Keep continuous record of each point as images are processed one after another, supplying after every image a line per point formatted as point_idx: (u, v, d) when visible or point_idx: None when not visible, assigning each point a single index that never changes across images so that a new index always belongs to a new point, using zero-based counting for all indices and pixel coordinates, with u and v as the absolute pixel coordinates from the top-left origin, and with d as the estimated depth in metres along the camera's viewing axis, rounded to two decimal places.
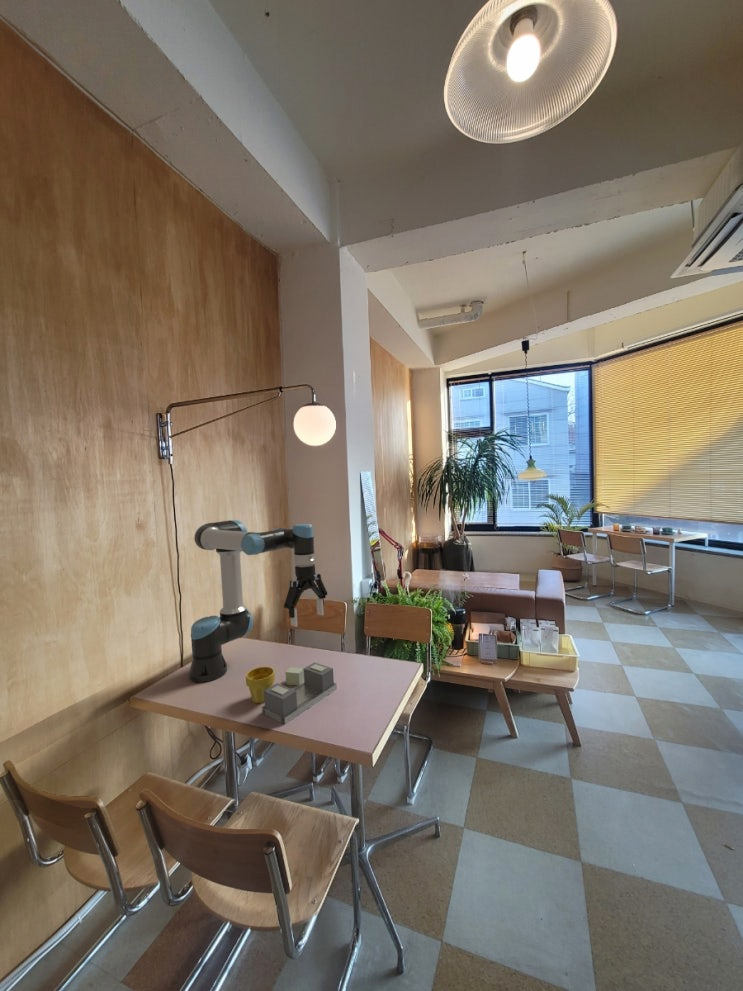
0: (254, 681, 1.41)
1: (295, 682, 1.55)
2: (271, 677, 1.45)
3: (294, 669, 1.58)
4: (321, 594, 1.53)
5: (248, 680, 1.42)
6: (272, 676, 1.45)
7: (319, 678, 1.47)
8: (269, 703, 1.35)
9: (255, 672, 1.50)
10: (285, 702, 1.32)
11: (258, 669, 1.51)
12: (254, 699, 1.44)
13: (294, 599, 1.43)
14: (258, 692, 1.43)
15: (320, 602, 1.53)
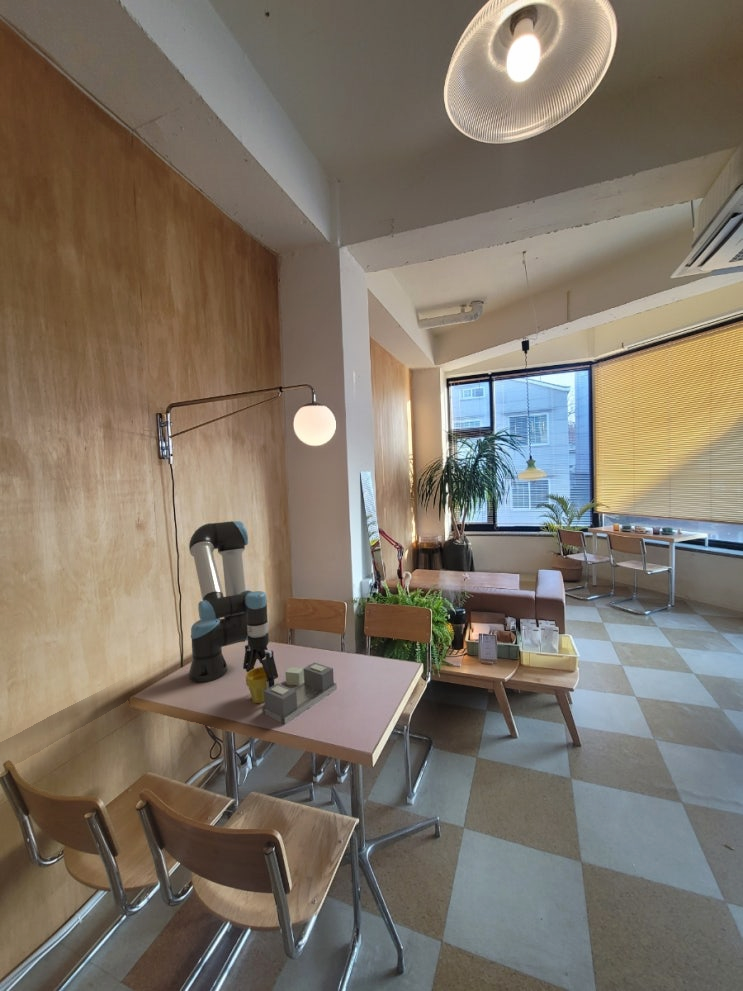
0: (254, 681, 1.41)
1: (295, 682, 1.55)
2: None
3: (294, 669, 1.58)
4: (267, 675, 1.42)
5: (248, 680, 1.42)
6: None
7: (319, 678, 1.47)
8: (269, 703, 1.35)
9: (255, 672, 1.50)
10: (285, 702, 1.32)
11: (258, 669, 1.51)
12: (254, 699, 1.44)
13: None
14: (258, 692, 1.43)
15: None
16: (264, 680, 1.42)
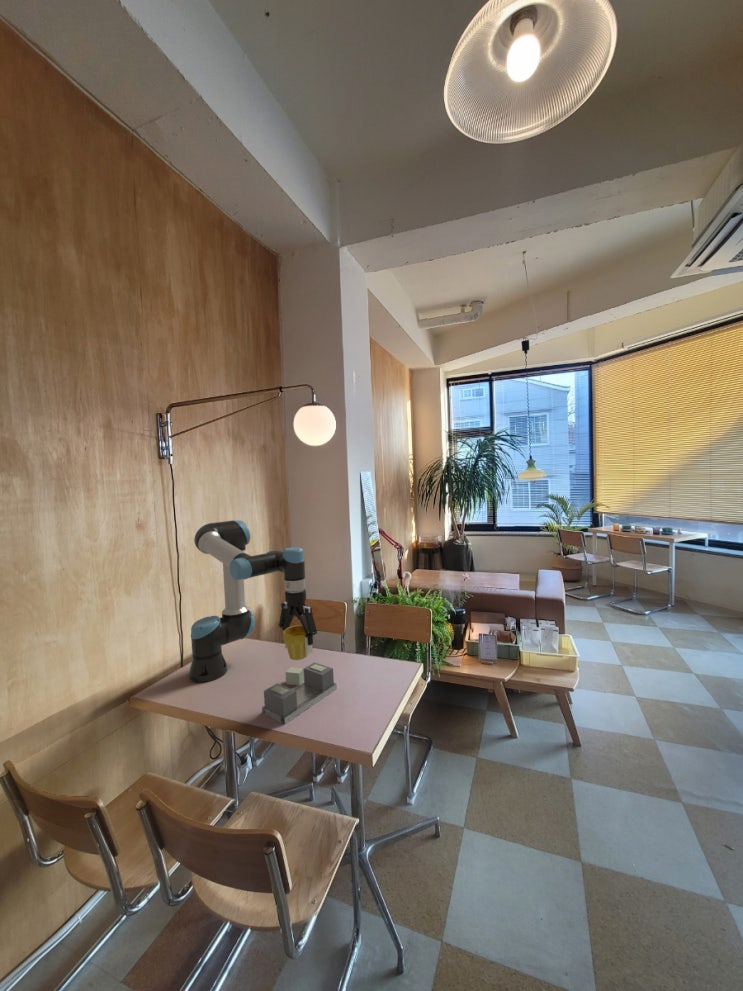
0: (292, 637, 1.38)
1: (295, 682, 1.55)
2: None
3: (294, 669, 1.58)
4: (305, 631, 1.39)
5: (286, 636, 1.39)
6: None
7: (319, 678, 1.47)
8: (269, 703, 1.35)
9: (291, 631, 1.47)
10: (285, 702, 1.32)
11: (294, 627, 1.47)
12: (292, 656, 1.40)
13: None
14: (296, 648, 1.39)
15: None
16: (302, 636, 1.39)
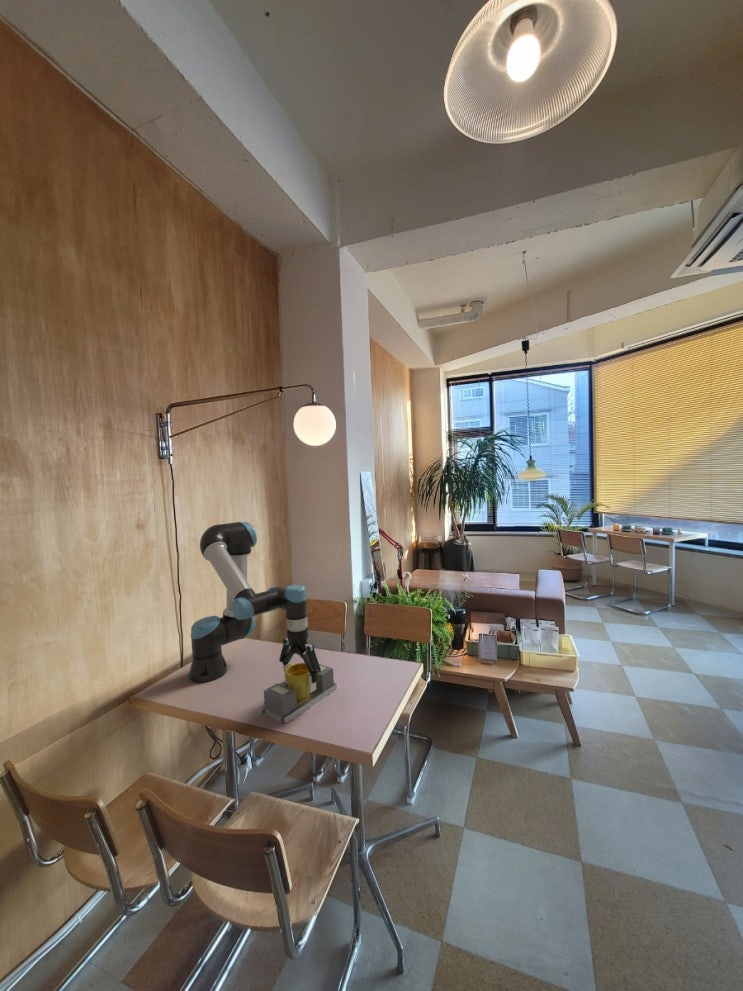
0: (295, 677, 1.39)
1: None
2: None
3: None
4: (309, 669, 1.39)
5: (288, 676, 1.40)
6: None
7: (319, 678, 1.47)
8: (269, 703, 1.35)
9: (293, 669, 1.47)
10: (285, 702, 1.32)
11: (296, 665, 1.48)
12: None
13: None
14: (298, 688, 1.40)
15: None
16: (305, 676, 1.39)
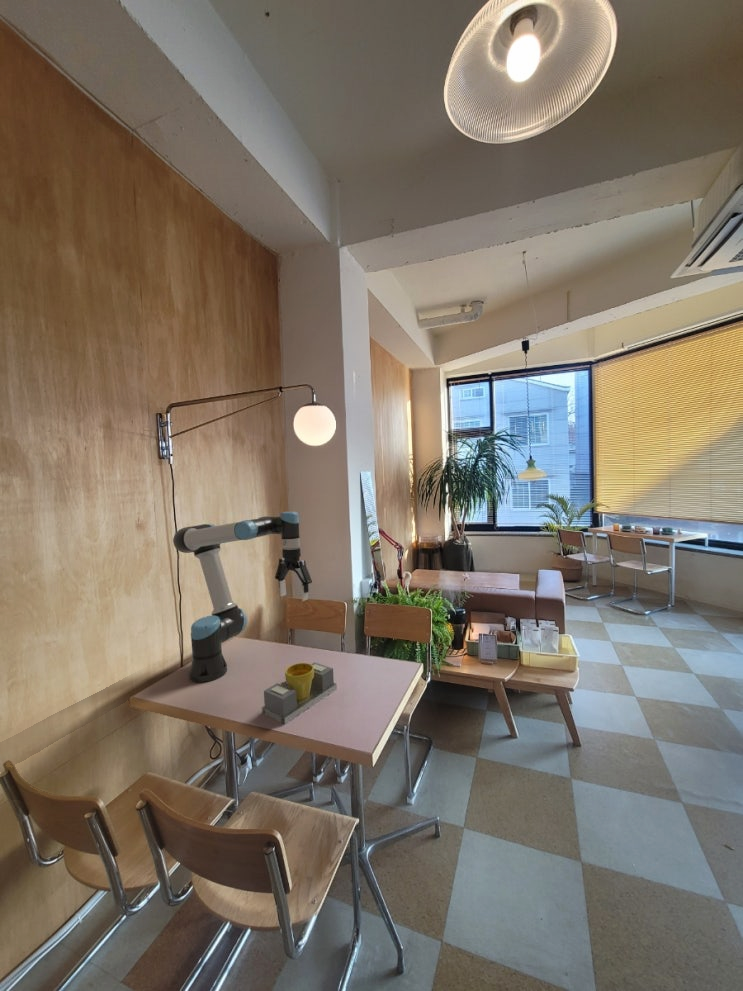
0: (295, 677, 1.39)
1: None
2: (311, 673, 1.42)
3: None
4: (301, 580, 1.61)
5: (288, 676, 1.40)
6: (312, 672, 1.42)
7: (319, 678, 1.47)
8: (269, 703, 1.35)
9: (293, 669, 1.47)
10: (285, 702, 1.32)
11: (296, 665, 1.48)
12: None
13: None
14: (298, 688, 1.40)
15: None
16: (305, 676, 1.39)
